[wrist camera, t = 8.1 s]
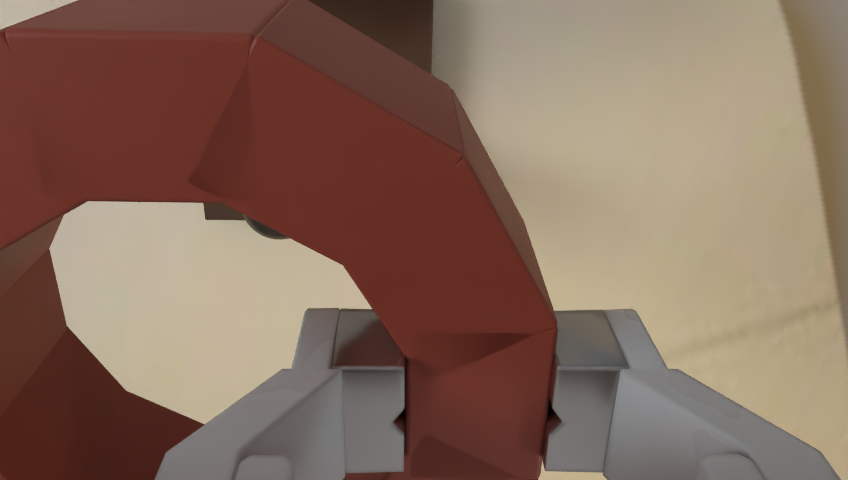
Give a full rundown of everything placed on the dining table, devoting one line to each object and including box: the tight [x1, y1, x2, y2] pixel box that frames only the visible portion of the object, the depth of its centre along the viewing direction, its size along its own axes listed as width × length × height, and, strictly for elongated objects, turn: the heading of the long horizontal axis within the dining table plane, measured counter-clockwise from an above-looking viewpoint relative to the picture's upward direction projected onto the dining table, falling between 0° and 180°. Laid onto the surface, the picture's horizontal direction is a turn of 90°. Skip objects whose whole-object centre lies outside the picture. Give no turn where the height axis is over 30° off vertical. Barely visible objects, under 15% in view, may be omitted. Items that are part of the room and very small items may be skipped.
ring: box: [0, 0, 558, 480], centre depth 11 cm, size 10×10×3 cm
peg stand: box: [203, 0, 433, 239], centre depth 27 cm, size 10×10×12 cm
